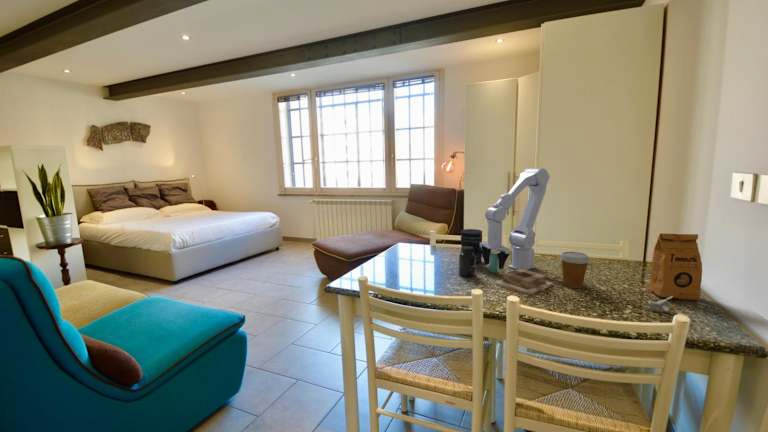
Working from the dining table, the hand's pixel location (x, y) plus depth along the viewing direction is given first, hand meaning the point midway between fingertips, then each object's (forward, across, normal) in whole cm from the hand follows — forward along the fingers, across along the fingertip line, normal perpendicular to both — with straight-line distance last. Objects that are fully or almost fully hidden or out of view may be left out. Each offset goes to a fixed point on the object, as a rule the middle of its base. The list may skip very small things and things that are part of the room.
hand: (493, 266), depth 146 cm
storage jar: (+3, -16, +3) cm, 16 cm away
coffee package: (+3, +53, +28) cm, 60 cm away
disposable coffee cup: (+3, +28, +11) cm, 30 cm away
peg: (+2, 0, 0) cm, 2 cm away
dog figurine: (+3, +55, +11) cm, 56 cm away
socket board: (+2, +17, -3) cm, 17 cm away
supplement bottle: (+3, -4, -12) cm, 13 cm away
